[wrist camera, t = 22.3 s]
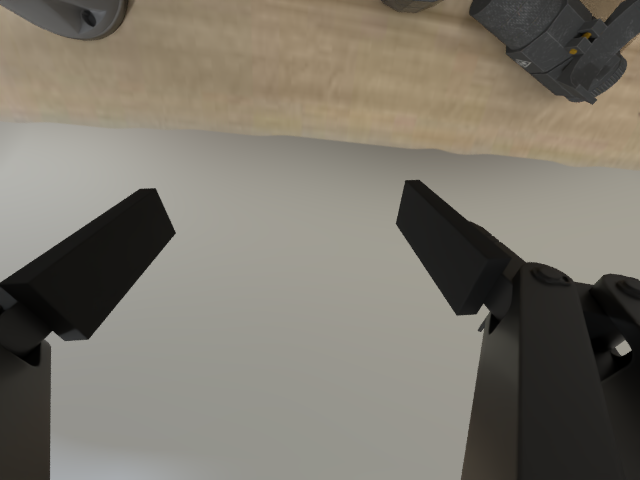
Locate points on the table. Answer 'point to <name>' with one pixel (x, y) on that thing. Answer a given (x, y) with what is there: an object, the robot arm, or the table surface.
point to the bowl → (411, 5)
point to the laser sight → (563, 42)
